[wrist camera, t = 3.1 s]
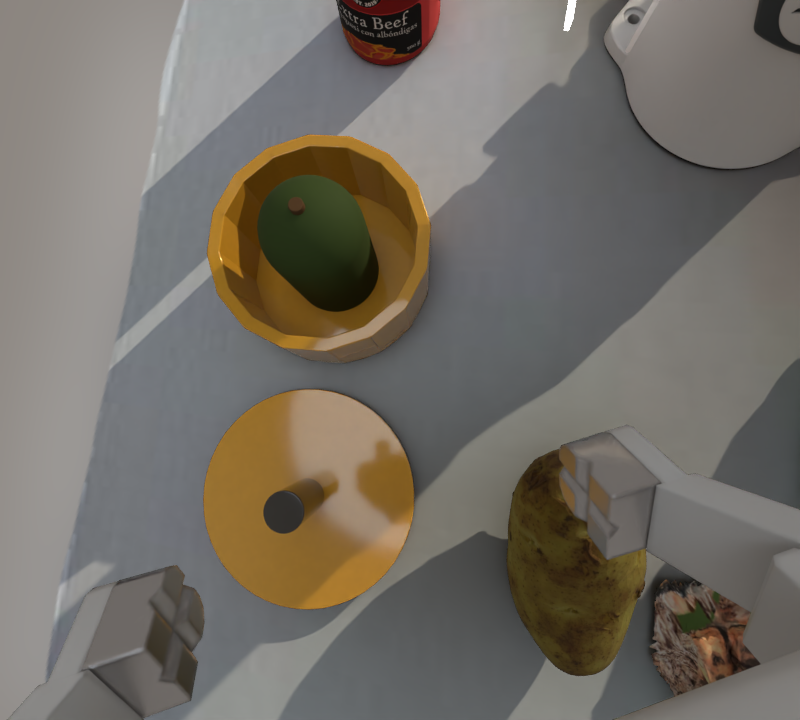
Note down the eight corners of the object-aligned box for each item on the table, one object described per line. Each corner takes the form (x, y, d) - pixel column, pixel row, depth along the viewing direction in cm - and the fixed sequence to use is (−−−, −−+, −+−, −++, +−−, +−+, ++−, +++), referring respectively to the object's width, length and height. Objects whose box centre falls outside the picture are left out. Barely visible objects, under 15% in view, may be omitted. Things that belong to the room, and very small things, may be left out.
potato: (464, 614, 30) (477, 688, 22) (517, 430, 31) (548, 435, 23) (586, 659, 29) (647, 752, 21) (636, 468, 30) (711, 487, 22)
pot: (303, 159, 34) (275, 102, 28) (460, 233, 33) (468, 189, 26) (217, 311, 33) (168, 287, 27) (375, 395, 32) (362, 390, 25)
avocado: (321, 217, 33) (272, 128, 23) (393, 252, 33) (377, 176, 22) (281, 289, 33) (213, 230, 22) (354, 326, 32) (319, 283, 22)
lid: (273, 355, 33) (238, 341, 26) (450, 449, 31) (456, 457, 25) (174, 536, 31) (112, 565, 25) (353, 643, 30) (333, 702, 24)
